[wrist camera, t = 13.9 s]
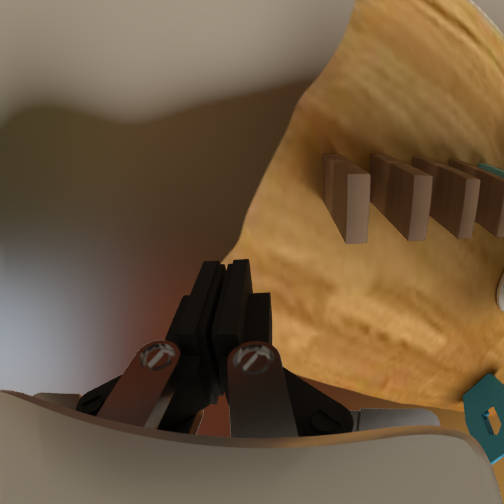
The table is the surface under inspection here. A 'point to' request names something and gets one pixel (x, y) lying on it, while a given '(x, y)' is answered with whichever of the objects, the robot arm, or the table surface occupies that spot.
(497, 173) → the teal tile
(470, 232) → the walnut tile
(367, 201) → the walnut tile
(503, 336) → the table surface
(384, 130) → the table surface
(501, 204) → the walnut tile
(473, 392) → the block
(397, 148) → the table surface
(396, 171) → the walnut tile
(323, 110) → the table surface
